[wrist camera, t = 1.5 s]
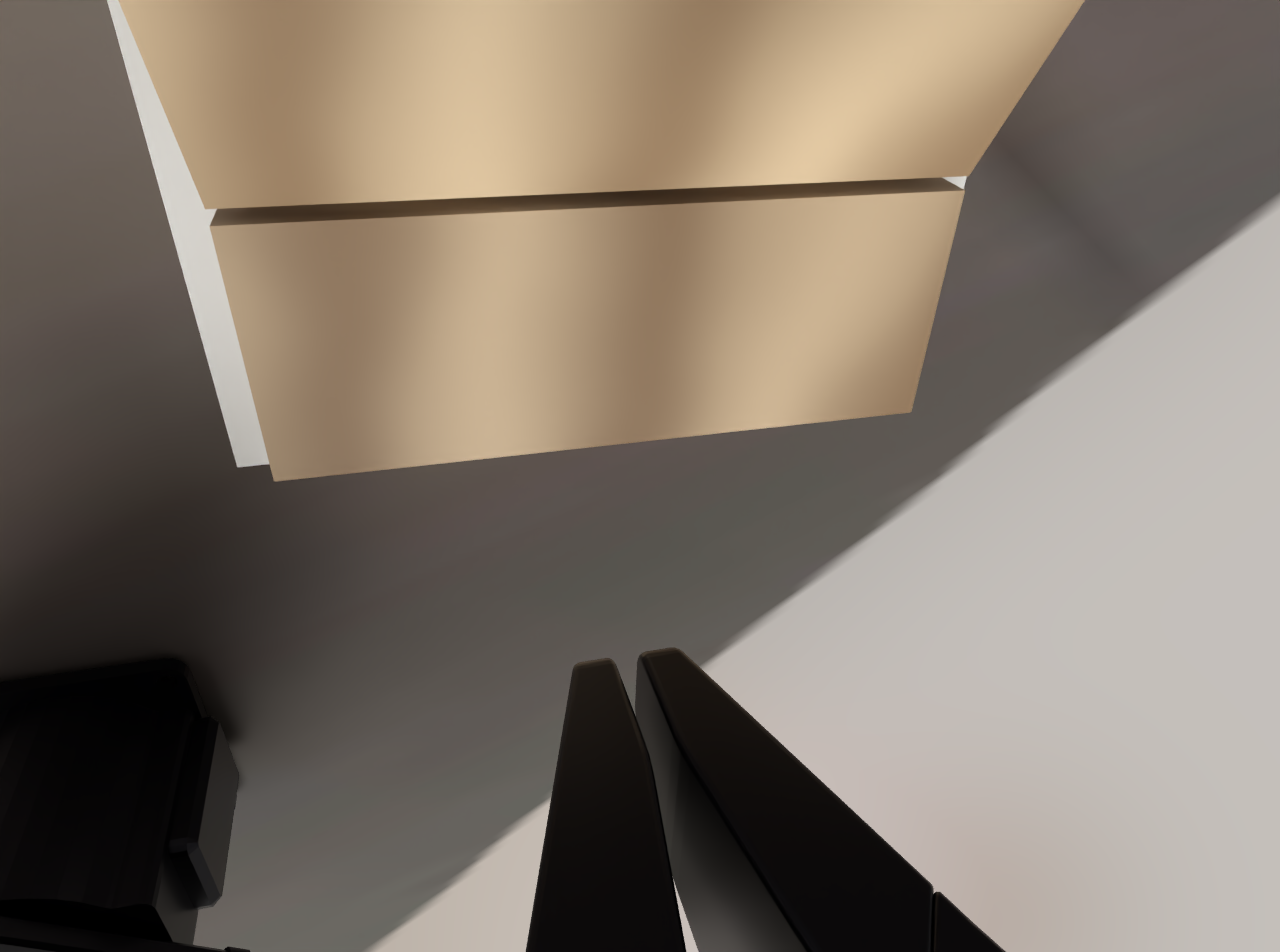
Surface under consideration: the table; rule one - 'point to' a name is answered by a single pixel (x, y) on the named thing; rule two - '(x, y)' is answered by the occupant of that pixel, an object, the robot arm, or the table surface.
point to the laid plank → (578, 317)
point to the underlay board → (203, 256)
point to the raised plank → (580, 92)
